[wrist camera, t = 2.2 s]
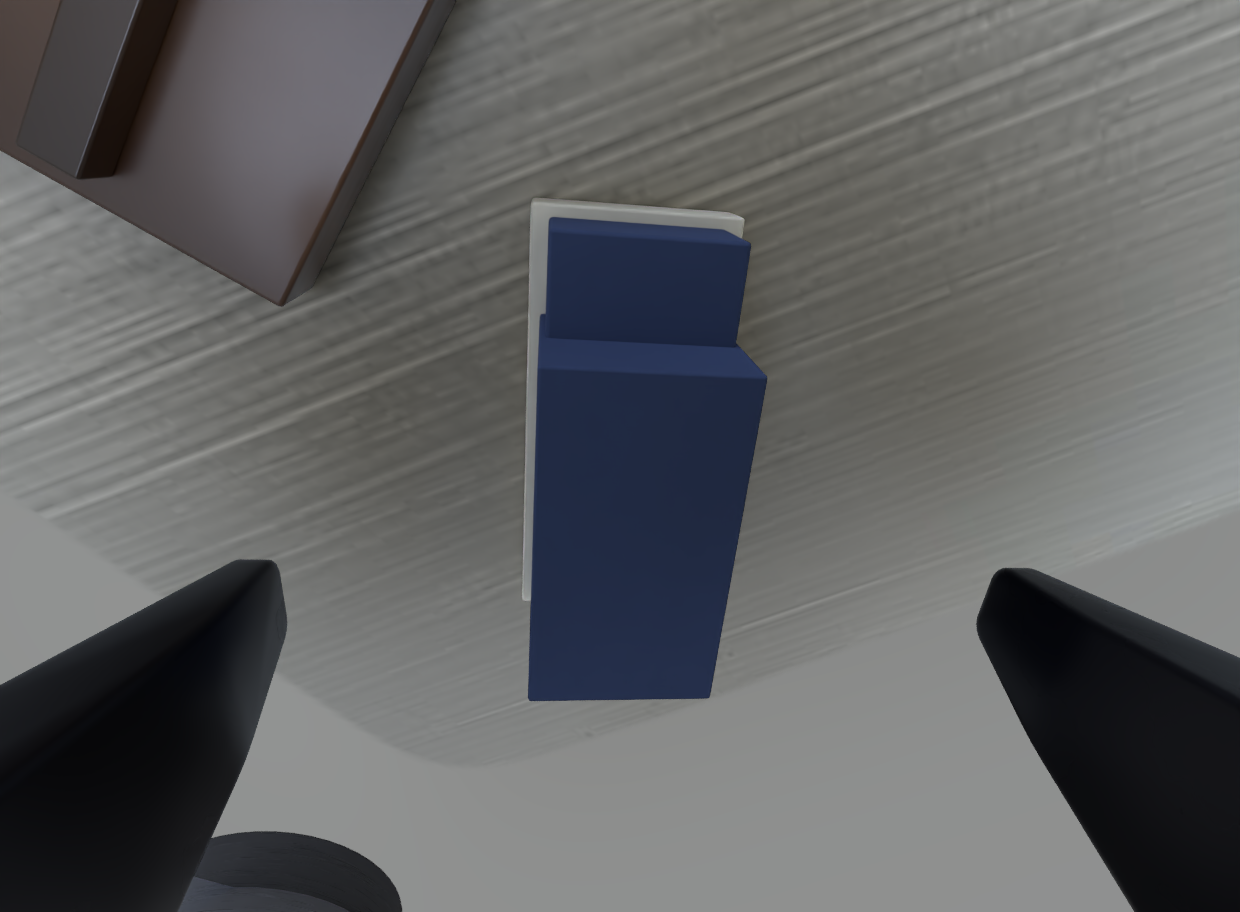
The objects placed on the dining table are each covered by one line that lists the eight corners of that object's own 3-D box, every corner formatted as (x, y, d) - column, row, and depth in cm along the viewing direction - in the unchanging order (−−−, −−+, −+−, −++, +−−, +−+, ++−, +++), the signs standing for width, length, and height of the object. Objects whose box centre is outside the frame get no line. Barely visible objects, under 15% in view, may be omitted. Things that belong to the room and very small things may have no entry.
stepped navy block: (679, 576, 16) (719, 707, 12) (523, 574, 15) (515, 711, 11) (731, 212, 12) (808, 243, 9) (532, 197, 12) (525, 222, 8)
